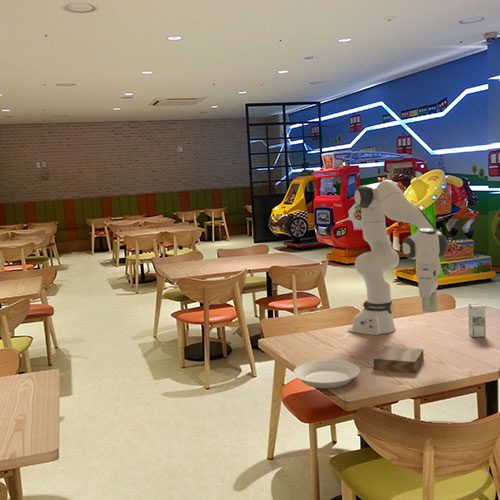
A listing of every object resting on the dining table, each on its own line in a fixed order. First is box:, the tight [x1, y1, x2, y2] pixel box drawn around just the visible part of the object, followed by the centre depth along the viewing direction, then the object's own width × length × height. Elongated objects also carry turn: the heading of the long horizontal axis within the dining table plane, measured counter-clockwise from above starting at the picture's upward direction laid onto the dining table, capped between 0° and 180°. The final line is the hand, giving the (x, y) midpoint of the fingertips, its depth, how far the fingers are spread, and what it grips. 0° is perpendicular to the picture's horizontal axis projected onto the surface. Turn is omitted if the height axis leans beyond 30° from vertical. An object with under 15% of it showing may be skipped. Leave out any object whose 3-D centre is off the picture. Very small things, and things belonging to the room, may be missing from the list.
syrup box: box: [468, 302, 487, 338], centre depth 258 cm, size 6×6×14 cm
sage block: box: [421, 291, 439, 313], centre depth 229 cm, size 5×5×7 cm
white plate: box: [292, 359, 361, 389], centre depth 219 cm, size 25×25×4 cm
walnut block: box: [372, 346, 425, 374], centre depth 229 cm, size 16×16×5 cm
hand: (429, 303), depth 229 cm, fingers closed on sage block, 5 cm apart
